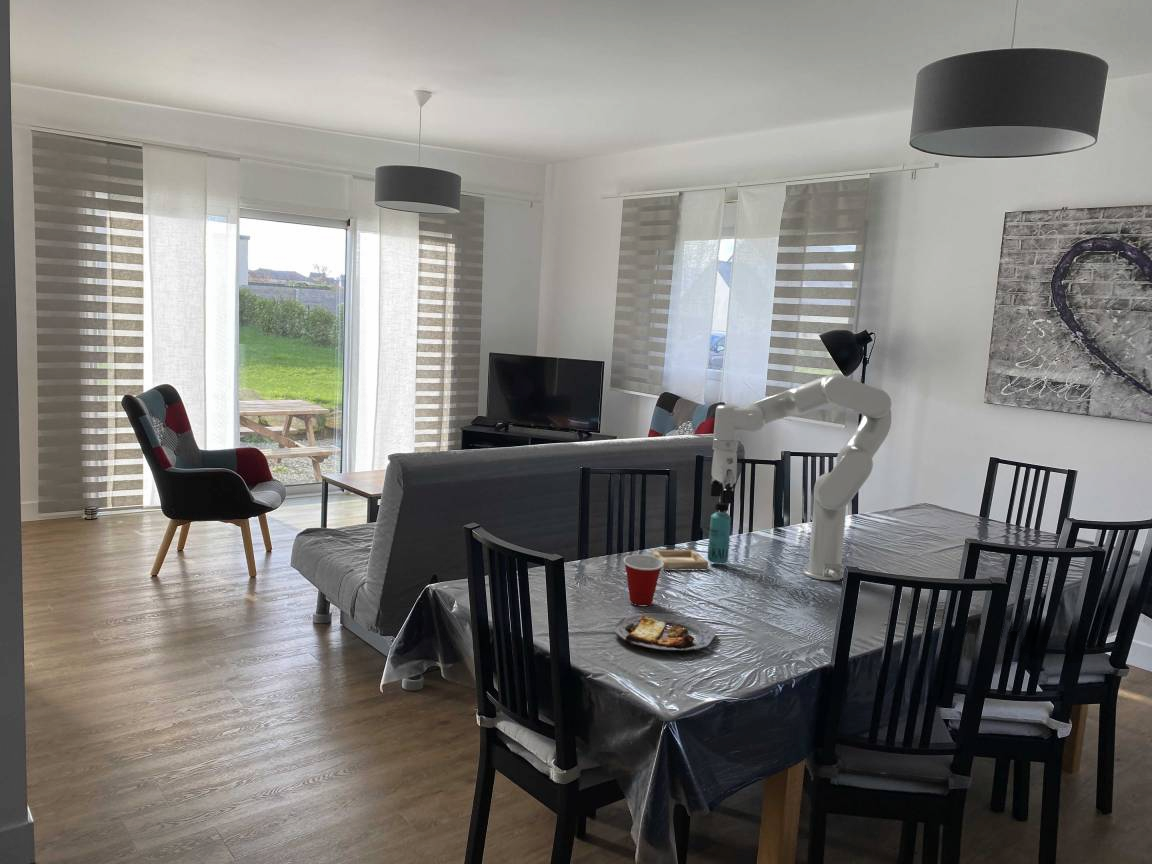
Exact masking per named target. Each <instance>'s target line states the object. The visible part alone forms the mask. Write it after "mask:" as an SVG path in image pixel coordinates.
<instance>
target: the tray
mask: <svg viewBox="0 0 1152 864" xmlns="http://www.w3.org/2000/svg"><path fill="white" fill-rule="evenodd" d="M650 551H651V553H650V554H651V555H652V556H653V557H656V558H659V559H660V560H662V561H663V563H664V565H663V568H664V569H708V568H709V562H708V560H706V559H705V558H704V557H703V556H702V555H700V554H699V553H698V552H697V551H695V550H694V549H652V550H650ZM651 555H650V556H651ZM708 570H709V569H708Z"/></svg>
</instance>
